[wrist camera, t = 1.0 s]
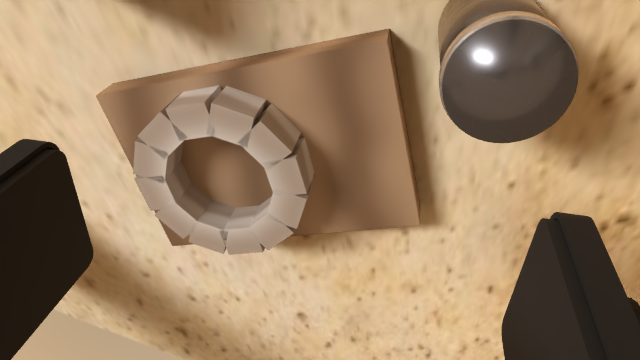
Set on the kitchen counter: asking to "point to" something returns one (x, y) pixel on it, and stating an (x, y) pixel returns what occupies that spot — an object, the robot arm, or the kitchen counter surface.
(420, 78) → the kitchen counter surface
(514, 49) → the lens
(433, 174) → the kitchen counter surface
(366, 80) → the mount board
